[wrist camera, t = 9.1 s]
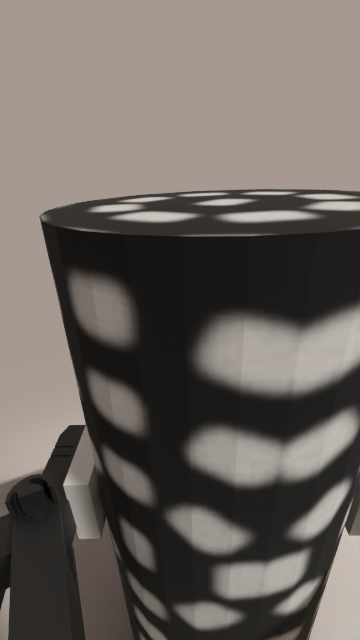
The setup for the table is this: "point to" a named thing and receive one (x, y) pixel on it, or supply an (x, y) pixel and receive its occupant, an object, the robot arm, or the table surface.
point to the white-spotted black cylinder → (217, 397)
